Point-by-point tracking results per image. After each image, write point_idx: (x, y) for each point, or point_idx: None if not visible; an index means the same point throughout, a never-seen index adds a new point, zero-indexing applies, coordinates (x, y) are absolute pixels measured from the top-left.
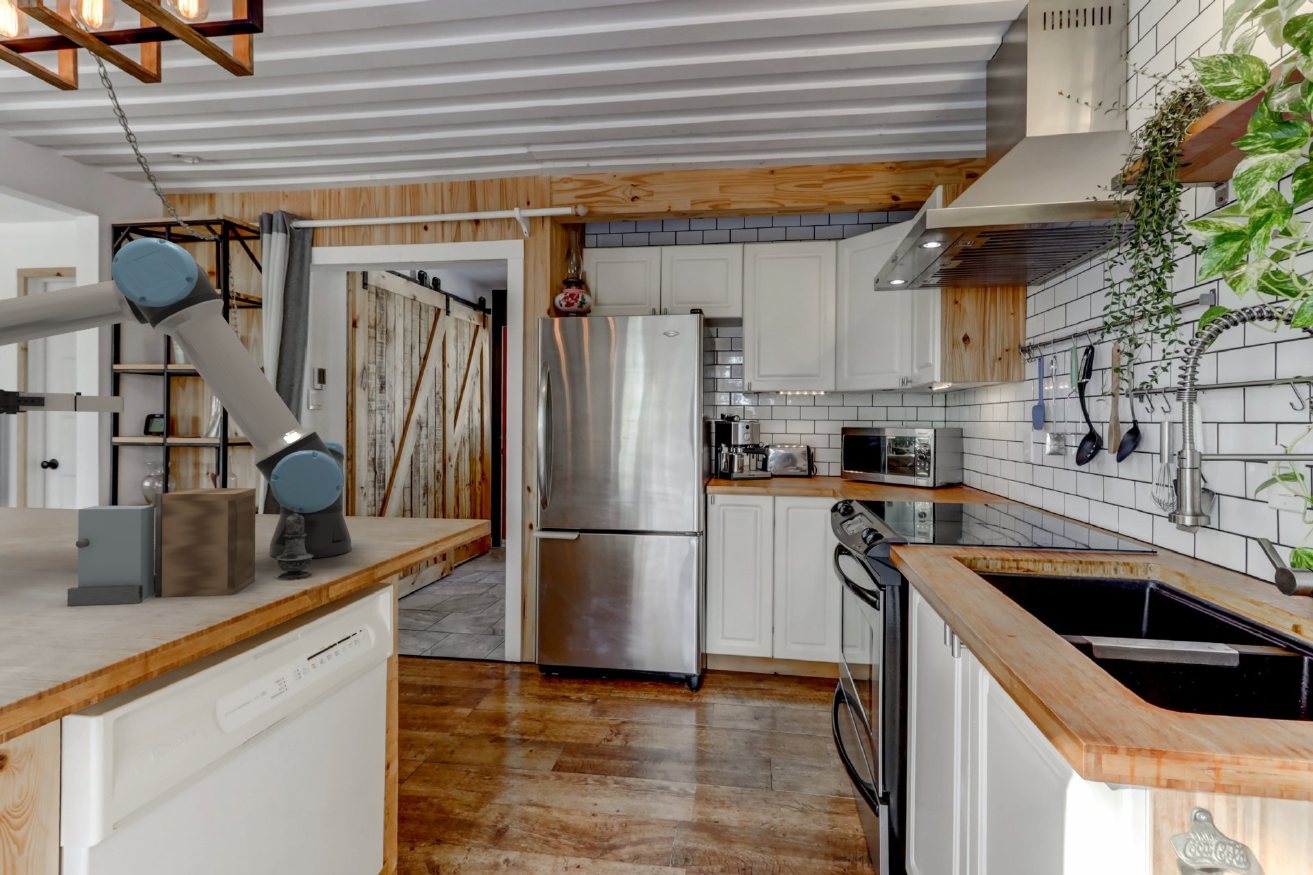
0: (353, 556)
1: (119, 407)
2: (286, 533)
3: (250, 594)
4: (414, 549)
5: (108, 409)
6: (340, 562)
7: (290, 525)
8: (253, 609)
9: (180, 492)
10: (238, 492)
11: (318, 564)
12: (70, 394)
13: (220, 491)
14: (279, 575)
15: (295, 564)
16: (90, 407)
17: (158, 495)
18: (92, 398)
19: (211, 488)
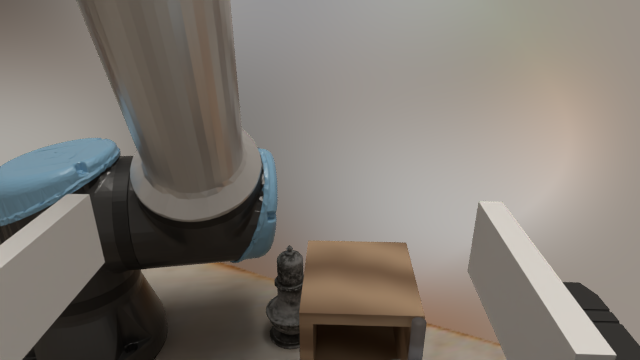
0: (173, 294)
1: (96, 247)
2: (295, 284)
3: None
4: None
5: (74, 284)
6: (212, 301)
7: (302, 268)
8: (468, 336)
9: (386, 302)
10: (381, 243)
11: (215, 321)
12: (503, 206)
13: (366, 263)
14: (288, 346)
15: None
16: (14, 338)
17: (425, 323)
18: (7, 282)
19: (307, 283)
